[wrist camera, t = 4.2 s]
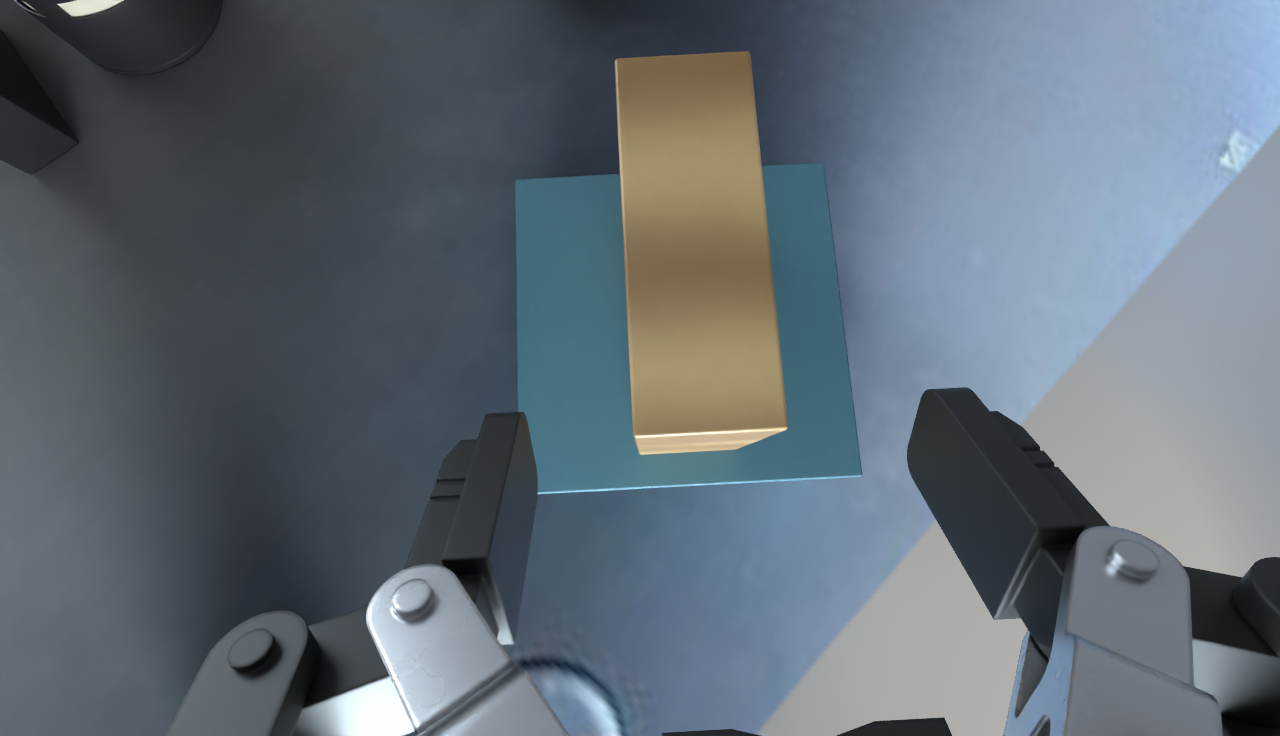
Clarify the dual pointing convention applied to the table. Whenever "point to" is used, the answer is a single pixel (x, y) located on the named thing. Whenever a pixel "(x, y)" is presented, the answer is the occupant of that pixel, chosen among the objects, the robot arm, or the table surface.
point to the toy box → (599, 350)
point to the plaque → (696, 255)
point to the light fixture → (110, 37)
